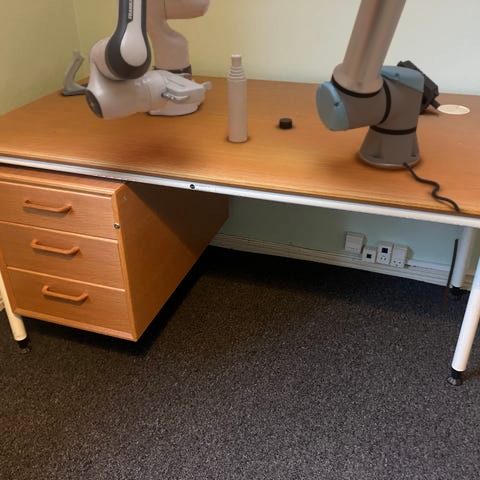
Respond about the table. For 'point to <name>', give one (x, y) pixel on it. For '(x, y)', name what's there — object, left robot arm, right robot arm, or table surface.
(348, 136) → the table surface
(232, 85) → the bottle
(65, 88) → the hand plane
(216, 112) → the table surface
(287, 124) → the cap
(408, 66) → the tool
